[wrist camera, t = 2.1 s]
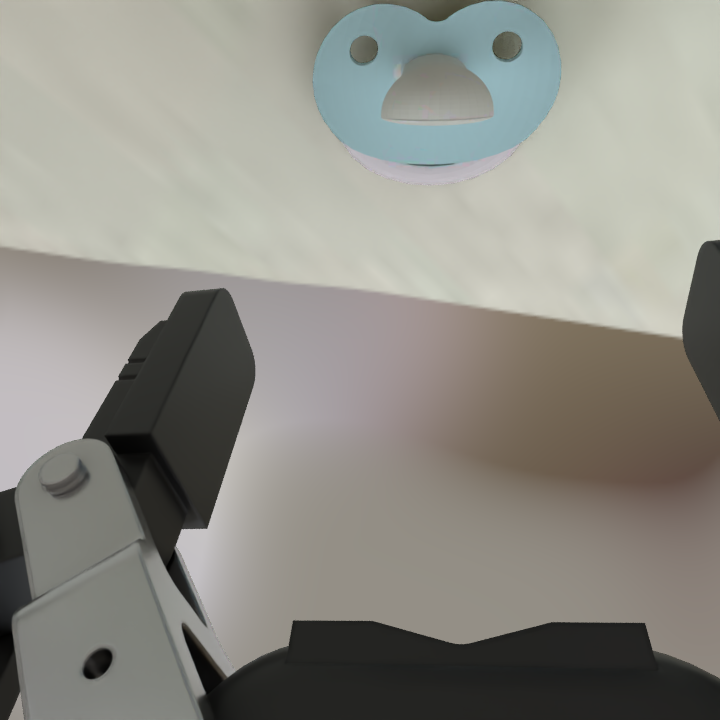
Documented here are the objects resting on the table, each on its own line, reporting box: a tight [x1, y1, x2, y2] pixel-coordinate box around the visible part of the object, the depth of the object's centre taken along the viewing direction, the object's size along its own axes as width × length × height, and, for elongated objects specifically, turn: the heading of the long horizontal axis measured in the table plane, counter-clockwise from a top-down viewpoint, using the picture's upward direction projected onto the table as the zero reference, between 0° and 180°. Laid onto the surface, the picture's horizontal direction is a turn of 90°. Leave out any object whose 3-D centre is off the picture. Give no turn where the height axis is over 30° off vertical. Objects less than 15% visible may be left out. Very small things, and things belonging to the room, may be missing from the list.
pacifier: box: [313, 1, 561, 185], centre depth 18 cm, size 7×6×6 cm
